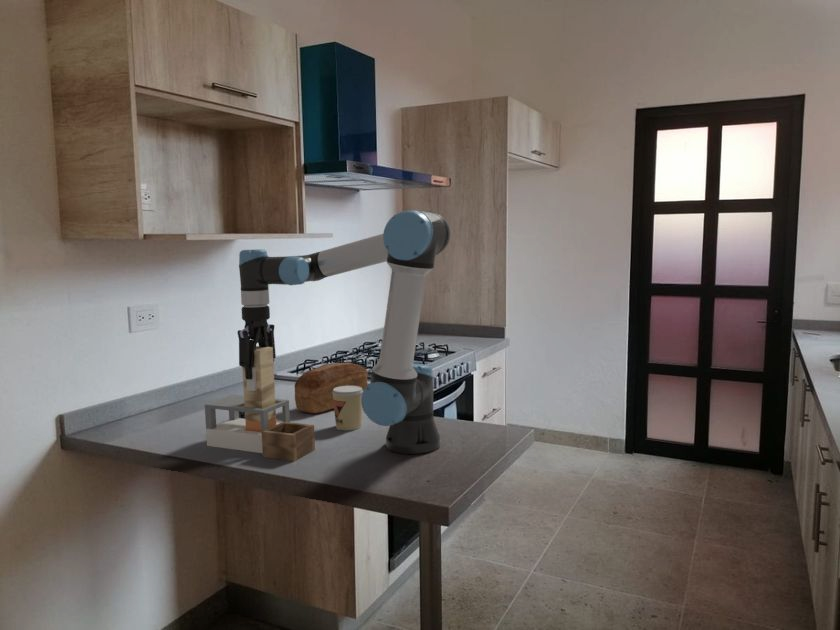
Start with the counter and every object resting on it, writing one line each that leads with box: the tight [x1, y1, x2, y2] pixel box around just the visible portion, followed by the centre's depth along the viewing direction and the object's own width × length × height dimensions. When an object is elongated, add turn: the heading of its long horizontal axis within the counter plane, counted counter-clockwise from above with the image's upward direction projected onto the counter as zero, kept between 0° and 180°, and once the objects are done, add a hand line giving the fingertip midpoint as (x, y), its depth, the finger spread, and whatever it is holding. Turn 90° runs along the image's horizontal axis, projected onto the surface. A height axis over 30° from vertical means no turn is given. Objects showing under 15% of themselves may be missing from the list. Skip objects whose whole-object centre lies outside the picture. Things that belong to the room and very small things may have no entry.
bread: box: [294, 362, 369, 414], centre depth 229 cm, size 12×28×14 cm, turn 140°
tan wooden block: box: [242, 345, 277, 422], centre depth 185 cm, size 6×6×20 cm
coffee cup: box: [332, 386, 363, 432], centre depth 203 cm, size 9×9×12 cm
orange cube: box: [246, 416, 277, 432], centre depth 187 cm, size 6×6×6 cm
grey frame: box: [204, 394, 291, 454], centre depth 188 cm, size 20×12×12 cm, turn 67°
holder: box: [262, 421, 316, 462], centre depth 179 cm, size 10×10×7 cm
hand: (259, 387), depth 185 cm, fingers closed on tan wooden block, 6 cm apart
